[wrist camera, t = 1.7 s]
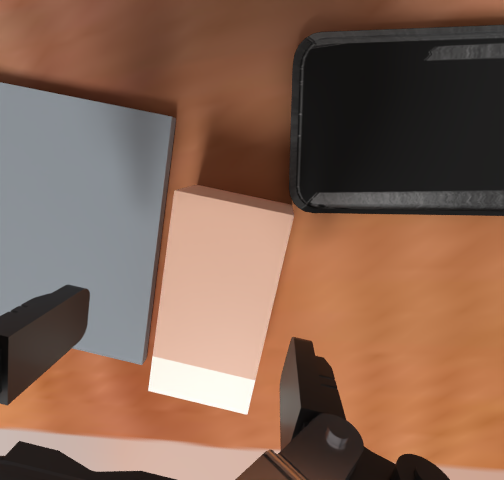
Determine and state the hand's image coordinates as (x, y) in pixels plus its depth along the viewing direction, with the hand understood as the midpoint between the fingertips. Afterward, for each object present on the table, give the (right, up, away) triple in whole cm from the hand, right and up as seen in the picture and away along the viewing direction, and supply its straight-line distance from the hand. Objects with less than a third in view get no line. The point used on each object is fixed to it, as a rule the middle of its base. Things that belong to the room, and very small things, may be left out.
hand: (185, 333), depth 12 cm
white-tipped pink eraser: (+1, +1, +5) cm, 6 cm away
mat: (-11, +5, +6) cm, 14 cm away
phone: (+12, +9, +3) cm, 15 cm away
